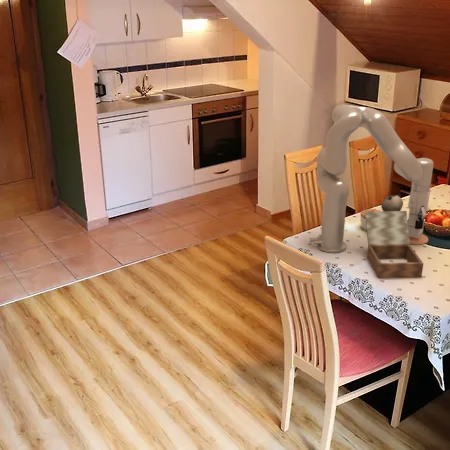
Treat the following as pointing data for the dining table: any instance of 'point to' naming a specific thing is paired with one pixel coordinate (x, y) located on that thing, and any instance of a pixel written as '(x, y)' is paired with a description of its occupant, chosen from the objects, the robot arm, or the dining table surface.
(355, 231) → the dining table surface
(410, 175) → the robot arm
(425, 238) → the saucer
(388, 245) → the cold frame
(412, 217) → the syrup box
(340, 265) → the dining table surface
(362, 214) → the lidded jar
